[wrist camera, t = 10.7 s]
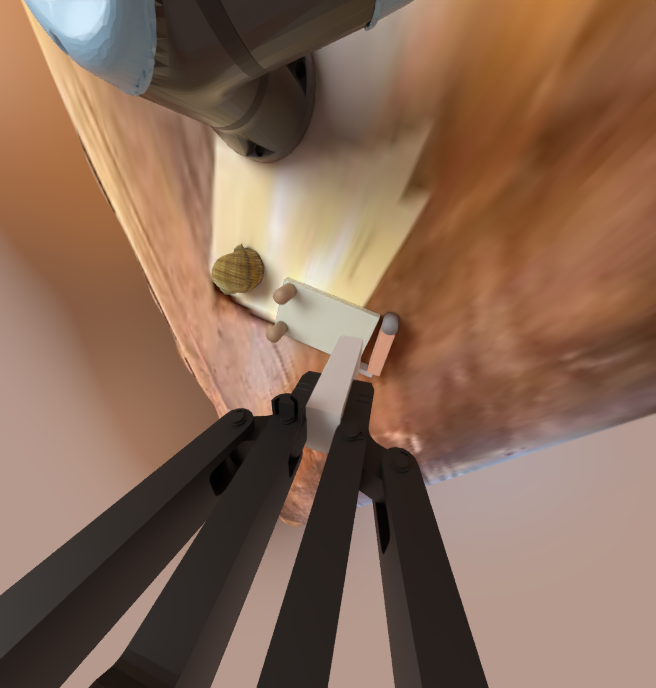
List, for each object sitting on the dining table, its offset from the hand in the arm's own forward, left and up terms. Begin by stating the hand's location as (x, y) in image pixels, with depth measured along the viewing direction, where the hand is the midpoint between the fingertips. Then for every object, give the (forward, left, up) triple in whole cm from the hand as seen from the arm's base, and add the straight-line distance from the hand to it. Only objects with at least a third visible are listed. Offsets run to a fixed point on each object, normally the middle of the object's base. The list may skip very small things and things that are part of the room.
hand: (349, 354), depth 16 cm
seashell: (-18, -18, -27) cm, 37 cm away
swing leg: (+10, -8, -26) cm, 29 cm away
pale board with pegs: (+2, -14, -26) cm, 30 cm away
